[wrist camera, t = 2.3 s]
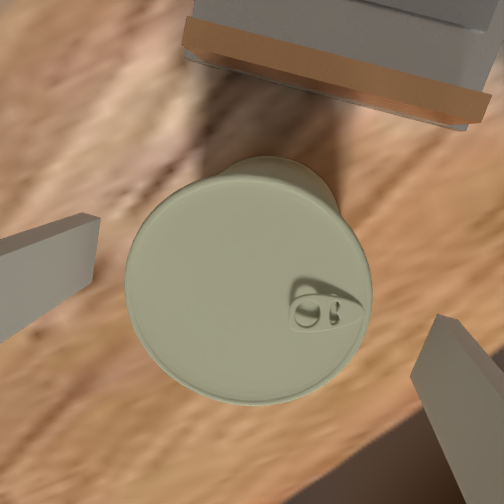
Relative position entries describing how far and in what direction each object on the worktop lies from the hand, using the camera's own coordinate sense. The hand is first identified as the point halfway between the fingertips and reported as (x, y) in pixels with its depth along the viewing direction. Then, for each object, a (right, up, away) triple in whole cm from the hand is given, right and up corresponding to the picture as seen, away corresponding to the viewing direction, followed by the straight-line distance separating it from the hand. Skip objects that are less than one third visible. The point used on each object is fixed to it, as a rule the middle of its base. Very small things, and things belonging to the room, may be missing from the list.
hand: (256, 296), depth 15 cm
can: (+1, +3, +11) cm, 11 cm away
